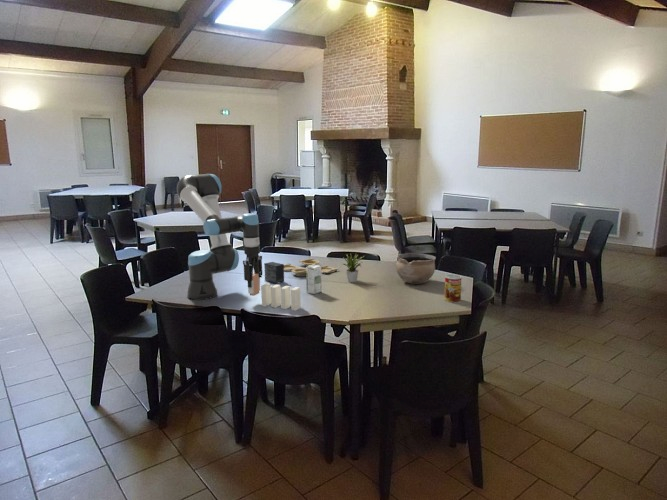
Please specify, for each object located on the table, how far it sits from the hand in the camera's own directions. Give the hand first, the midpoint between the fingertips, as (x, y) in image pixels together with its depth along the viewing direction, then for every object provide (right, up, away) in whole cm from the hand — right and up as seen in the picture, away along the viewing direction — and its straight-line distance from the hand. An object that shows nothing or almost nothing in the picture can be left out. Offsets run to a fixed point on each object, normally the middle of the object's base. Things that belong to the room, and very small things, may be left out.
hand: (254, 291), depth 246 cm
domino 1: (0, -1, 0) cm, 1 cm away
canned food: (+98, -4, +1) cm, 98 cm away
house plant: (+50, +2, +37) cm, 62 cm away
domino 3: (+11, -7, -4) cm, 14 cm away
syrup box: (+29, -2, +17) cm, 34 cm away
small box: (+5, +2, +40) cm, 40 cm away
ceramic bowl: (+85, +2, +34) cm, 92 cm away
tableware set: (+22, +8, +65) cm, 69 cm away
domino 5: (+21, -7, -8) cm, 24 cm away
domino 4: (+16, -7, -6) cm, 19 cm away
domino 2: (+6, -6, -1) cm, 9 cm away
